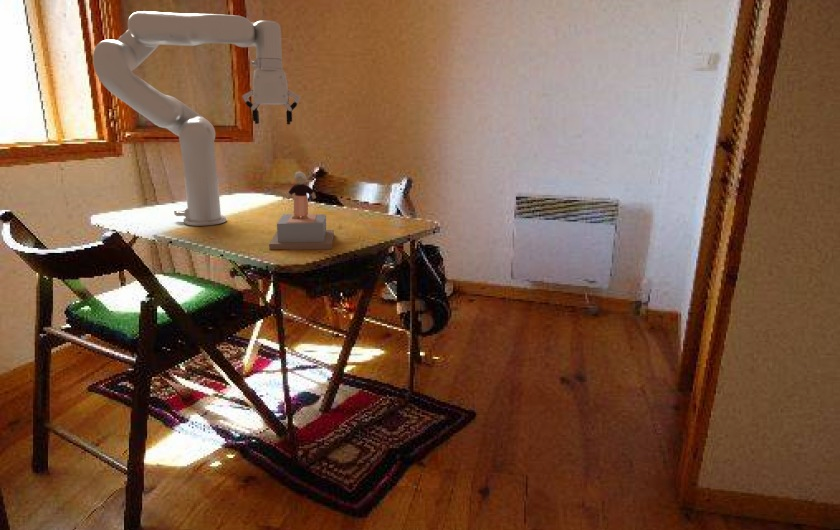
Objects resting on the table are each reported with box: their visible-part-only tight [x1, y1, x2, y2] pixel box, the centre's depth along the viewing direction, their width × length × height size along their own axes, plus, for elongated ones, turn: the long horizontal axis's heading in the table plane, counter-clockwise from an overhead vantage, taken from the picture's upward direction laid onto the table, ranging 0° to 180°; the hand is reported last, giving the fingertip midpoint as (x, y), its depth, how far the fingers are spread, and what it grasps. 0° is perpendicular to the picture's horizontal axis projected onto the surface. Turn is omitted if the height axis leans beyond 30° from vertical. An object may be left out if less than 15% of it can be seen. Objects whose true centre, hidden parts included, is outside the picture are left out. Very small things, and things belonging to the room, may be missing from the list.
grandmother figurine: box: [286, 170, 317, 219], centre depth 146 cm, size 8×4×13 cm, turn 107°
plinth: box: [268, 213, 335, 251], centre depth 149 cm, size 16×16×7 cm
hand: (273, 124), depth 168 cm, fingers open, 9 cm apart
